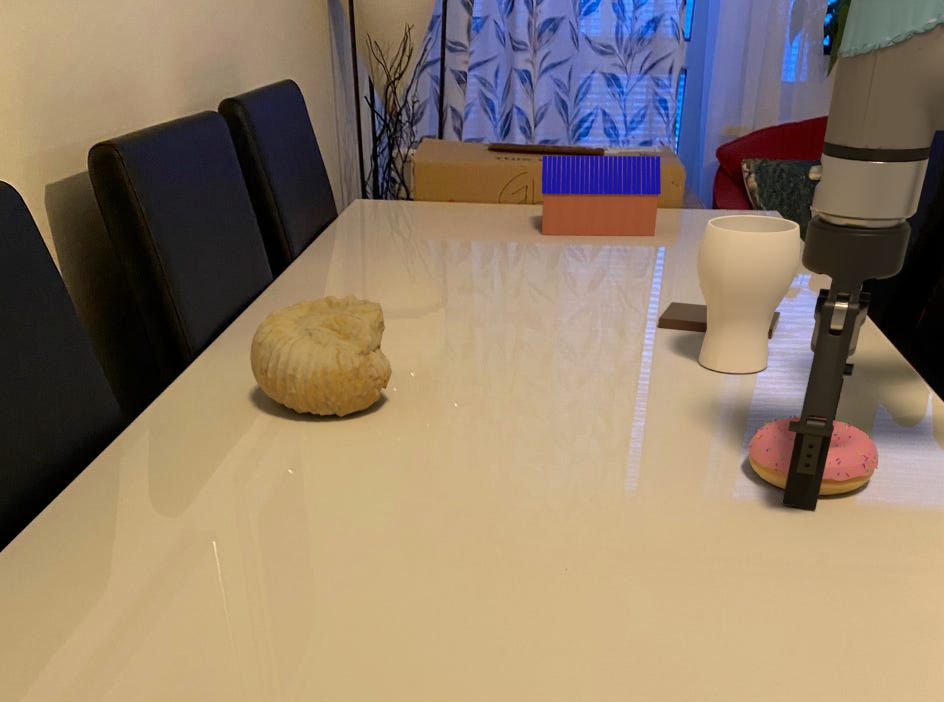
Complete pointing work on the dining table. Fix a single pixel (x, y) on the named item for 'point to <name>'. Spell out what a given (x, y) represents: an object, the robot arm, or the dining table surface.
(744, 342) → the cup
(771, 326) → the walnut coaster board
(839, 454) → the doughnut
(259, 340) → the seashell
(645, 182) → the house
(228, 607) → the dining table surface
